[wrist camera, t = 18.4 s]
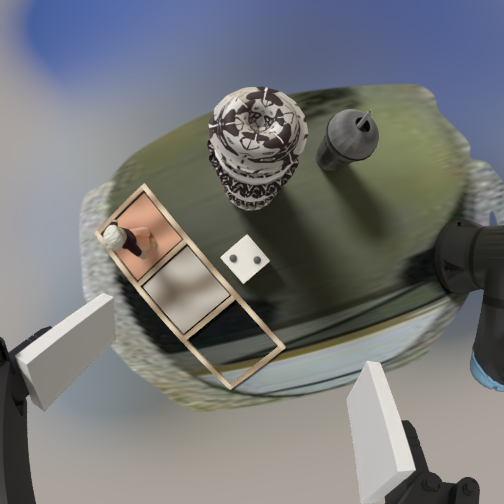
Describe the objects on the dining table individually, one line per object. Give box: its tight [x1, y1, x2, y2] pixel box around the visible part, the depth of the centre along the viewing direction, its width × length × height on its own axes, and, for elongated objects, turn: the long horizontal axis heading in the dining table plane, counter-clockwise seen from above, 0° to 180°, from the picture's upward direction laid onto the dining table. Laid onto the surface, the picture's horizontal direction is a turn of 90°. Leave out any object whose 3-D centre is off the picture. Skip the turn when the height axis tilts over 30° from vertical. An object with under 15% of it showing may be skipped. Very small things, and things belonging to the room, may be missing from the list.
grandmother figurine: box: [103, 220, 157, 260], centre depth 38 cm, size 8×4×13 cm, turn 56°
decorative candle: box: [207, 87, 308, 210], centre depth 32 cm, size 9×9×25 cm
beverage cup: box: [316, 109, 379, 171], centre depth 35 cm, size 7×7×20 cm
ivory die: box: [220, 235, 270, 284], centre depth 42 cm, size 5×5×6 cm
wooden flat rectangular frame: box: [95, 183, 286, 390], centre depth 45 cm, size 36×13×1 cm, turn 41°
